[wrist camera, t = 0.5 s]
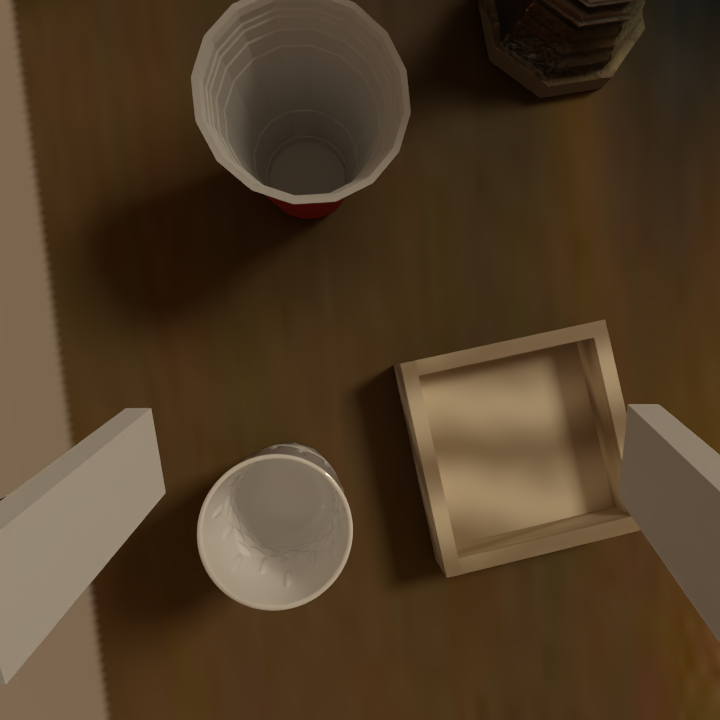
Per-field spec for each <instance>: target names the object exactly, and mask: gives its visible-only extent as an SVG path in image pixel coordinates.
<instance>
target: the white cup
mask: <svg viewBox="0 0 720 720" xmlns="http://www.w3.org/2000/svg"><path fill="white" fill-rule="evenodd" d="M352 537H353V524H352V516H351V512H350V508H349V505H348V502H347V500H346V497H345V494H344V491H343V488H342V486H341V483H340V481H339V479H338V477H337V475H336V474H335V472H334V470H333V469H332V467H331V465H330V463H329V462H328V461H326V460H325V459H324V458H323V457H322V456H321V455H320V454H319V453H318V452H317V451H316V450H315V449H313V448H310V447H307V446H304V445H301V444H298V443H295V442H292V443H285V444H277V445H272V446H270V447H268V448H265V449H263V450H261V451H259V452H257V453H255V454H253V455H251V456H249V457H248V458H246V459H245V460H243V461H242V462H240V463H239V464H237V465H236V466H234V467H233V468H231V469H230V470H228V471H227V472H226V473H225V474H224V475H223V476H221V477H220V478H219V480H218V481H217V482H216V483H215V484H214V485H213V487H212V488H211V490H210V491H209V493H208V494H207V496H206V498H205V500H204V502H203V505H202V507H201V510H200V514H199V518H198V524H197V544H198V550H199V554H200V558H201V561H202V563H203V566H204V568H205V570H206V572H207V573H208V575H209V577H210V578H211V579H212V581H213V582H214V583H215V584H216V586H217V587H218V588H219V589H220V590H221V591H222V592H224V593H225V594H226V595H227V596H229V597H230V598H232V599H233V600H235V601H237V602H239V603H241V604H243V605H246V606H248V607H252V608H255V609H261V610H285V609H290V608H294V607H298V606H300V605H303V604H305V603H307V602H309V601H311V600H313V599H315V598H316V597H318V596H319V595H321V594H322V593H323V592H324V591H325V590H327V589H328V588H329V587H330V586H331V585H332V583H333V582H334V581H335V580H336V579H337V577H338V576H339V574H340V573H341V571H342V569H343V568H344V566H345V564H346V561H347V559H348V556H349V553H350V549H351V545H352Z"/></svg>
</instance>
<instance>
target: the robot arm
mask: <svg viewBox="0 0 720 720" xmlns="http://www.w3.org/2000/svg"><path fill="white" fill-rule="evenodd" d="M165 493H166V492H165V486H164V480H163V475H162V469H161V463H160V457H159V451H158V445H157V439H156V434H155V428H154V422H153V416H152V410H151V408H126V409H124V410H123V411H122V412H120V413H119V414H118V415H116V416H115V417H113V418H112V419H111V420H109V421H108V422H107V423H105V424H104V425H103V426H101V427H100V428H99V429H97V430H96V431H95V432H93V433H92V434H90V435H89V436H88V437H86V438H85V439H84V440H82V441H81V442H80V443H78V444H77V445H76V446H74V447H73V448H71V449H70V450H69V451H67V452H66V453H65V454H63V455H62V456H61V457H59V458H58V459H57V460H55V461H54V462H52V463H51V464H50V465H48V466H47V467H46V468H44V469H43V470H42V471H40V472H39V473H38V474H36V475H35V476H34V477H33V478H31V479H29V480H28V481H27V482H25V483H24V484H23V485H21V486H20V487H19V488H17V489H16V490H15V491H13V492H12V493H10V494H9V495H8V496H6V497H4V498H2V499H0V685H6V684H7V683H8V682H9V681H10V679H11V678H12V677H13V676H14V674H15V673H16V672H17V671H18V670H19V668H20V667H21V666H22V665H23V664H24V663H25V661H26V660H27V659H28V658H29V656H30V655H31V654H32V653H33V652H34V650H35V649H36V648H37V647H38V646H39V644H40V643H41V642H42V641H43V639H44V638H45V637H46V636H47V635H48V634H49V632H50V631H51V630H52V629H53V628H54V626H55V625H56V624H57V623H58V621H59V620H60V619H61V618H62V617H63V616H64V614H65V613H66V612H67V611H68V610H69V608H70V607H71V606H72V605H73V604H74V602H75V601H76V600H77V599H78V597H79V596H80V595H81V594H82V593H83V592H84V590H85V589H86V588H87V587H88V586H89V584H90V583H91V582H92V581H93V580H94V578H95V577H96V576H97V575H98V574H99V572H100V571H101V570H102V569H103V568H104V566H105V565H106V564H107V563H108V562H109V560H110V559H111V558H112V557H113V556H114V554H115V553H116V552H117V551H118V550H119V548H120V547H121V546H122V545H123V544H124V542H125V541H126V540H127V539H128V537H129V536H130V535H131V534H132V533H133V531H134V530H135V529H136V528H137V527H138V525H139V524H140V523H141V522H142V521H143V519H144V518H145V517H146V516H147V515H148V513H149V512H150V511H151V510H152V509H153V507H154V506H155V505H156V504H157V503H158V501H159V500H160V499H161V498H162V497H163V495H164V494H165ZM618 498H619V499H620V500H621V502H622V503H623V505H624V506H625V508H626V509H627V511H628V512H629V513H630V515H631V516H632V518H633V519H634V521H635V522H636V524H637V525H638V526H639V528H640V529H641V531H642V532H643V534H644V535H645V537H646V538H647V539H648V541H649V542H650V544H651V545H652V547H653V548H654V549H655V551H656V552H657V554H658V555H659V557H660V558H661V560H662V561H663V562H664V564H665V565H666V567H667V568H668V570H669V571H670V573H671V574H672V575H673V577H674V578H675V580H676V581H677V583H678V584H679V586H680V587H681V588H682V590H683V591H684V593H685V594H686V596H687V597H688V598H689V600H690V601H691V603H692V604H693V606H694V607H695V609H696V610H697V611H698V613H699V614H700V616H701V617H702V619H703V620H704V622H705V623H706V624H707V626H708V627H709V629H710V630H711V632H712V633H713V635H714V636H715V637H716V639H717V640H718V642H719V643H720V455H719V454H718V453H717V452H716V451H714V450H713V449H712V448H711V447H710V446H708V445H707V444H706V443H705V442H704V441H702V440H701V439H700V438H699V437H698V436H696V435H695V434H694V433H693V432H692V431H690V430H689V429H688V428H687V427H686V426H684V425H683V424H682V423H681V422H680V421H678V420H677V419H676V418H675V417H674V416H672V415H671V414H670V413H669V412H667V411H666V410H665V409H664V408H663V407H661V406H660V405H659V404H628V410H627V419H626V428H625V438H624V447H623V456H622V465H621V474H620V484H619V493H618Z"/></svg>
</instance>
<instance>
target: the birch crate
mask: <svg viewBox="0 0 720 720" xmlns="http://www.w3.org/2000/svg"><path fill="white" fill-rule="evenodd" d="M393 366H394V371H395V375H396V380H397V384H398V389H399V394H400V398H401V403H402V407H403V412H404V417H405V421H406V426H407V431H408V435H409V440H410V444H411V449H412V454H413V458H414V463H415V467H416V472H417V477H418V481H419V486H420V490H421V495H422V500H423V504H424V509H425V513H426V518H427V523H428V527H429V532H430V537H431V541H432V546H433V550H434V555H435V559H436V561H437V563H438V564H439V566H440V568H441V569H442V571H443V573H444V574H445V576H446V578H449V577H453V576H457V575H461V574H465V573H469V572H473V571H477V570H481V569H485V568H489V567H493V566H497V565H501V564H505V563H509V562H514V561H518V560H522V559H526V558H530V557H534V556H538V555H542V554H546V553H550V552H554V551H558V550H562V549H566V548H570V547H574V546H578V545H582V544H587V543H591V542H595V541H599V540H603V539H607V538H611V537H615V536H619V535H623V534H627V533H631V532H635V531H639V530H641V529H640V528H639V526H638V525H637V524H636V522H635V521H634V519H633V518H632V516H631V515H630V513H629V512H628V511H627V509H626V508H625V506H624V505H623V503H622V502H621V500H620V499H619V498H618V493H619V484H620V474H621V465H622V456H623V447H624V438H625V428H626V419H627V415H626V410H625V406H624V401H623V397H622V392H621V388H620V384H619V379H618V375H617V370H616V366H615V361H614V357H613V353H612V348H611V344H610V339H609V335H608V330H607V326H606V321H605V320H601V321H596V322H591V323H587V324H582V325H577V326H573V327H568V328H563V329H559V330H554V331H549V332H545V333H540V334H536V335H531V336H526V337H522V338H517V339H512V340H508V341H503V342H498V343H494V344H489V345H485V346H480V347H475V348H471V349H466V350H461V351H457V352H452V353H448V354H443V355H438V356H434V357H429V358H424V359H420V360H415V361H410V362H406V363H401V364H397V365H393Z"/></svg>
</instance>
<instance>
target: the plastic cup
mask: <svg viewBox="0 0 720 720" xmlns="http://www.w3.org/2000/svg"><path fill="white" fill-rule="evenodd" d="M191 83H192V93H193V102H194V112H195V121H196V123H197V125H198V127H199V129H200V130H201V132H202V134H203V136H204V138H205V140H206V142H207V143H208V145H209V147H210V149H211V151H212V153H213V155H214V156H215V158H216V160H217V161H218V162H219V163H220V164H221V165H222V166H223V167H225V168H226V169H227V170H228V171H229V172H231V173H232V174H233V175H234V176H235V177H237V178H238V179H239V180H240V181H241V182H242V183H244V184H245V185H246V186H247V187H248V188H250V189H251V190H252V191H255V192H258V193H261V194H263V195H265V196H266V197H267V198H268V199H270V200H271V201H272V202H273V203H274V204H275V205H276V206H277V207H279V208H280V209H281V210H282V211H284V212H285V213H286V214H288V215H291V216H294V217H297V218H301V219H314V218H321V217H323V216H325V215H327V214H329V213H331V212H333V211H335V210H336V209H337V208H338V206H339V205H340V204H341V203H342V202H343V200H344V199H345V198H346V197H347V196H348V195H350V194H352V193H354V192H356V191H358V190H360V189H362V188H364V187H366V186H368V185H370V184H372V183H373V182H374V181H375V180H376V179H377V178H378V176H379V175H380V174H381V173H382V172H383V170H384V169H385V168H386V167H387V166H388V164H389V163H390V162H391V161H392V160H393V158H394V157H395V156H396V155H397V154H398V153H399V150H400V147H401V144H402V140H403V137H404V134H405V130H406V127H407V124H408V120H409V117H410V114H411V110H410V99H409V89H408V79H407V70H406V68H405V66H404V64H403V62H402V60H401V58H400V56H399V54H398V53H397V51H396V49H395V47H394V45H393V43H392V41H391V39H390V37H389V35H388V33H387V32H386V31H385V30H384V29H383V28H382V27H381V26H380V25H379V24H378V23H377V22H376V21H374V20H373V19H372V18H371V17H370V16H369V15H368V14H367V13H366V12H365V11H363V10H362V9H361V8H360V7H359V6H358V5H357V4H356V3H354V2H352V1H349V0H241V1H238V2H236V3H234V4H232V5H231V6H230V7H229V8H228V9H227V11H226V12H225V13H224V14H223V15H222V16H221V17H220V18H219V19H218V21H217V22H216V23H215V24H214V25H213V26H212V27H211V28H210V29H209V31H208V32H207V33H206V34H205V35H204V37H203V40H202V43H201V46H200V50H199V53H198V56H197V59H196V62H195V65H194V69H193V72H192V75H191Z"/></svg>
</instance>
